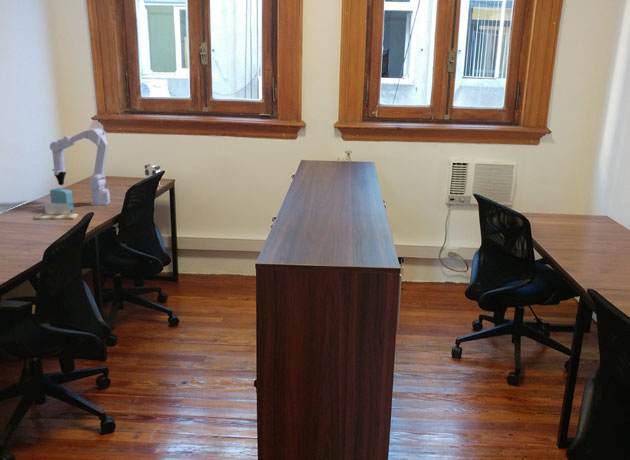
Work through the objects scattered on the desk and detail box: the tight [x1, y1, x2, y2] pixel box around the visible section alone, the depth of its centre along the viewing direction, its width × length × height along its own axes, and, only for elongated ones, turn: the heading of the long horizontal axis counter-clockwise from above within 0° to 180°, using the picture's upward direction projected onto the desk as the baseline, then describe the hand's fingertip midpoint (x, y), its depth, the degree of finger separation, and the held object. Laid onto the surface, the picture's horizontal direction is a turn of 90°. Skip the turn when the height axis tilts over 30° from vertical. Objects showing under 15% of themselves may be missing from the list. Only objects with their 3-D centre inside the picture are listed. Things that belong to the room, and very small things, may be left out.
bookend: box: [33, 202, 79, 221], centre depth 298 cm, size 20×8×7 cm, turn 97°
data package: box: [49, 188, 74, 212], centre depth 312 cm, size 12×4×12 cm, turn 66°
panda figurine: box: [144, 164, 161, 186], centre depth 375 cm, size 12×11×15 cm
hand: (61, 184), depth 330 cm, fingers closed
